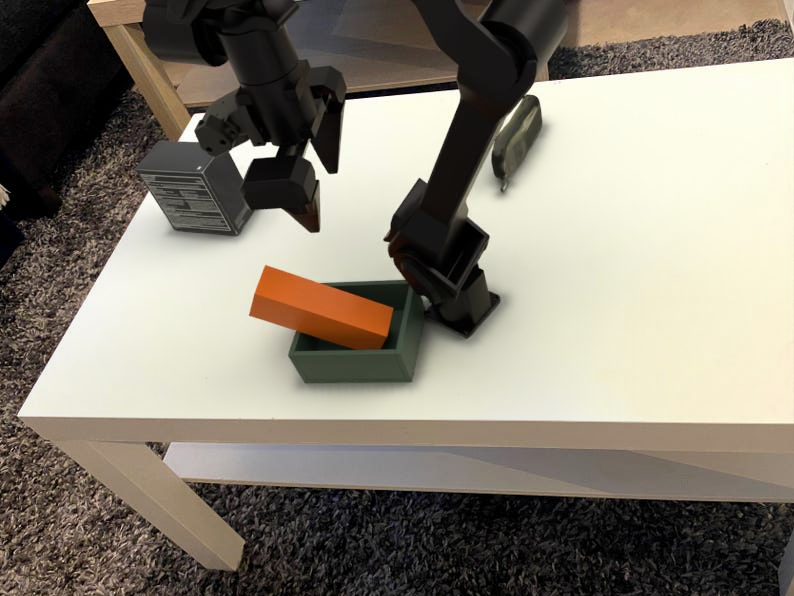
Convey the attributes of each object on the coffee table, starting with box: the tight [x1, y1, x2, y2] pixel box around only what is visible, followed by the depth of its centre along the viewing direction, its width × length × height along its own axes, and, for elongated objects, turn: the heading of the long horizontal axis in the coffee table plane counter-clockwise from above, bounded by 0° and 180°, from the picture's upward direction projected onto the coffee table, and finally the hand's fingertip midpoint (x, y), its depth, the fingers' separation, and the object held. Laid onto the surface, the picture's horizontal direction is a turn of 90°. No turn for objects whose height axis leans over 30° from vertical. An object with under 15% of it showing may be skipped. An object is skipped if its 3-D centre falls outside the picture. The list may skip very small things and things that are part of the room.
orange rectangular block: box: [248, 264, 394, 350], centre depth 78 cm, size 4×4×14 cm
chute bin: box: [287, 279, 427, 384], centre depth 80 cm, size 12×10×5 cm
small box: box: [134, 140, 255, 236], centre depth 96 cm, size 11×6×10 cm, turn 74°
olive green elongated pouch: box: [490, 94, 543, 193], centre depth 96 cm, size 5×3×15 cm
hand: (324, 201), depth 78 cm, fingers open, 9 cm apart
